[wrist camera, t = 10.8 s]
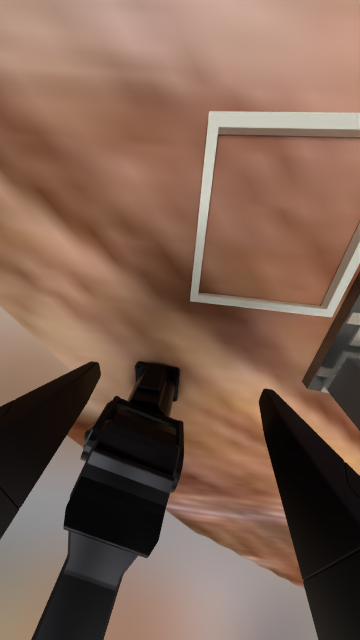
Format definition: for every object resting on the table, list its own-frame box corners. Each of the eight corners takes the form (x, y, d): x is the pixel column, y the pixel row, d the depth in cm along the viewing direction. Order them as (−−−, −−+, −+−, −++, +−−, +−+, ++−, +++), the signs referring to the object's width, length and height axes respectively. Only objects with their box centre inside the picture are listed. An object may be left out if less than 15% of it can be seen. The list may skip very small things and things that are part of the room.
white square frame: (325, 313, 18) (331, 317, 17) (190, 298, 20) (189, 301, 19) (419, 123, 12) (436, 113, 11) (209, 119, 13) (209, 111, 12)
